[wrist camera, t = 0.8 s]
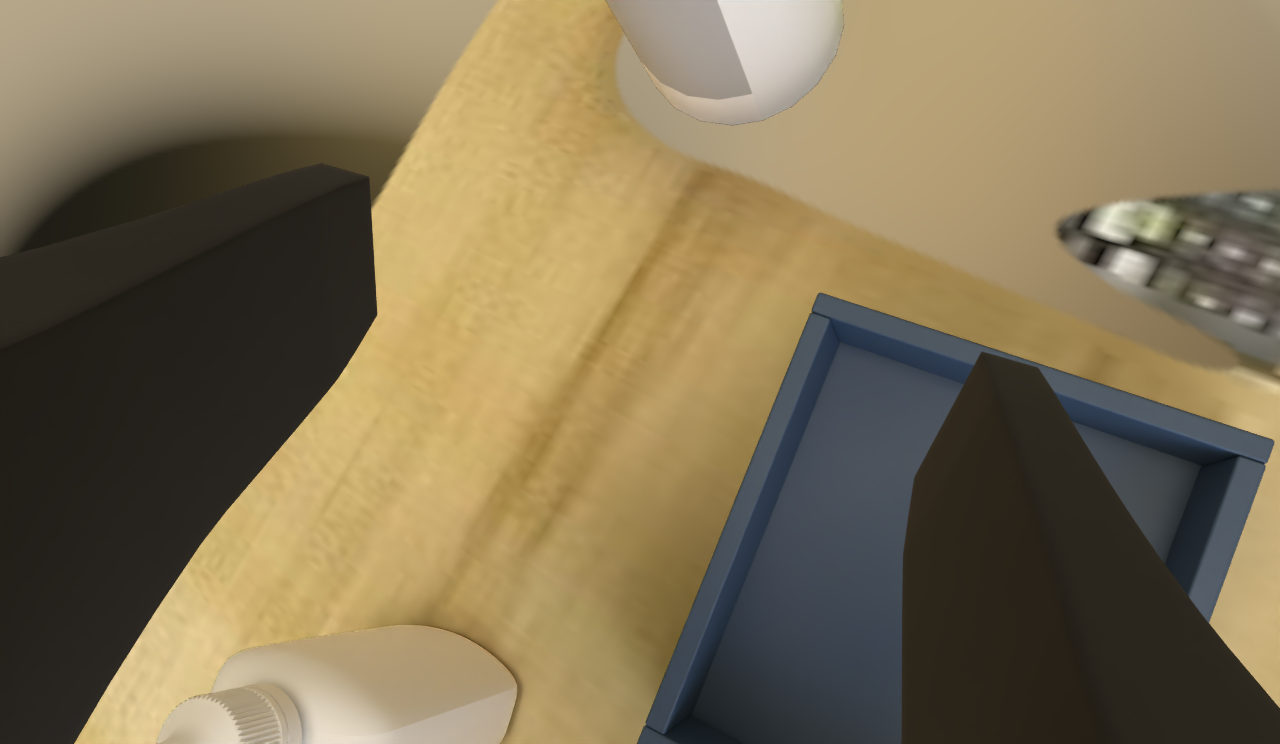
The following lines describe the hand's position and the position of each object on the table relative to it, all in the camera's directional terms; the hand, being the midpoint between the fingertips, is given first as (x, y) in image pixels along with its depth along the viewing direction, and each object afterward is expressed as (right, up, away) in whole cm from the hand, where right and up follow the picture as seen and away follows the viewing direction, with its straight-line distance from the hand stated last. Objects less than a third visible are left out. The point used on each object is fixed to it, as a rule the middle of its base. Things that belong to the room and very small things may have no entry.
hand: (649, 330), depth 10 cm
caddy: (+8, -7, +15) cm, 18 cm away
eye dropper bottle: (-7, -11, +19) cm, 23 cm away
